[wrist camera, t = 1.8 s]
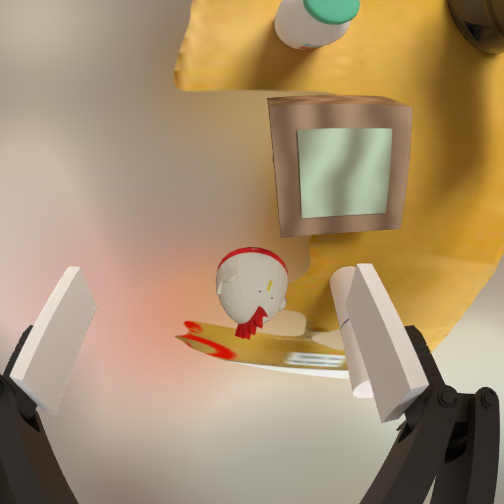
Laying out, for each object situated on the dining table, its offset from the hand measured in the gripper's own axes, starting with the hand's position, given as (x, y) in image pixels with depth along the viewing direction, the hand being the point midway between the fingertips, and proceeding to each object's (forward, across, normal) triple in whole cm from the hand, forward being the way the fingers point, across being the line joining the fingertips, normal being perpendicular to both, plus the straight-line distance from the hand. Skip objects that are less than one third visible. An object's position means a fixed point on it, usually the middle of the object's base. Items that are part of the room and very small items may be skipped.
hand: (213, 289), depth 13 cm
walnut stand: (+34, +15, -3) cm, 37 cm away
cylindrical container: (+34, +22, -29) cm, 50 cm away
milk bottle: (+34, +10, +17) cm, 39 cm away
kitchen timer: (+36, +3, -28) cm, 46 cm away
